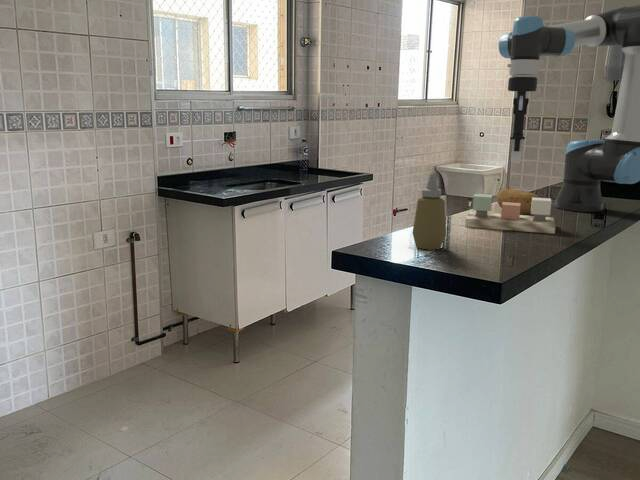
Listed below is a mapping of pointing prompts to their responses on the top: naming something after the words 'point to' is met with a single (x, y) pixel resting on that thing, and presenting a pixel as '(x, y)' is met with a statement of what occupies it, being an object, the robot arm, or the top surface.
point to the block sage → (482, 204)
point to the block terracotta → (510, 210)
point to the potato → (517, 199)
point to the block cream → (540, 208)
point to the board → (510, 223)
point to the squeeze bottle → (430, 218)
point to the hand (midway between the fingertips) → (515, 162)
